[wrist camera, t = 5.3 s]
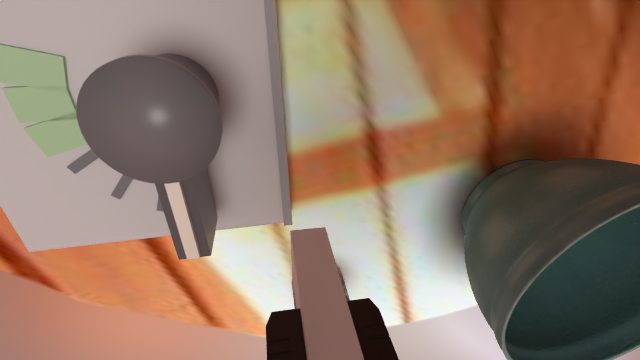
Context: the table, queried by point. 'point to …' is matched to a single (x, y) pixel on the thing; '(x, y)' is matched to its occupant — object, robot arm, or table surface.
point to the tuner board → (154, 39)
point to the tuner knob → (159, 136)
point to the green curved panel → (47, 105)
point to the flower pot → (557, 257)
